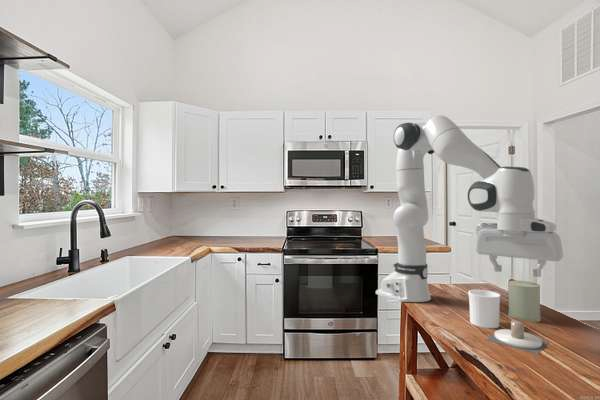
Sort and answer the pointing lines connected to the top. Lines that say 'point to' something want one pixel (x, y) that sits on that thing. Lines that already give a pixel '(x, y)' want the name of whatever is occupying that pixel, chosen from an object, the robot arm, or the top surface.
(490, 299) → the mug
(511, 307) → the can
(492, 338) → the mat
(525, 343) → the lid
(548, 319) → the top surface
